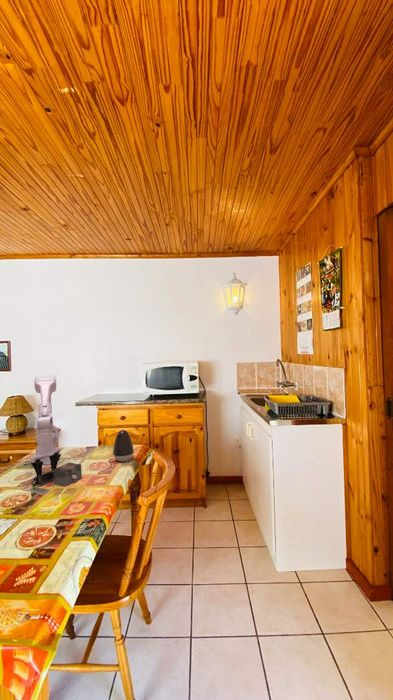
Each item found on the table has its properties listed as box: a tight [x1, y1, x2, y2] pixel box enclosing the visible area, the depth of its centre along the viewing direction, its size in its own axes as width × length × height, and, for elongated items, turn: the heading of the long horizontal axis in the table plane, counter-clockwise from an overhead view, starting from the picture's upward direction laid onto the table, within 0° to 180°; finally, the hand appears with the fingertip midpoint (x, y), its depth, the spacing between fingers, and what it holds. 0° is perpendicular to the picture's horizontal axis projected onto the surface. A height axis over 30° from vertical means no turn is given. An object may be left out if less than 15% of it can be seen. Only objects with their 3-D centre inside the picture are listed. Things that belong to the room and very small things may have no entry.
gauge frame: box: [20, 462, 83, 496], centre depth 135 cm, size 15×18×6 cm
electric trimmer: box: [30, 476, 39, 486], centre depth 140 cm, size 4×16×3 cm, turn 147°
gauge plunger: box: [31, 467, 77, 487], centre depth 136 cm, size 12×20×4 cm, turn 155°
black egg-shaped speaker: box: [112, 429, 135, 463], centre depth 162 cm, size 10×10×15 cm
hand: (46, 473), depth 142 cm, fingers open, 7 cm apart
